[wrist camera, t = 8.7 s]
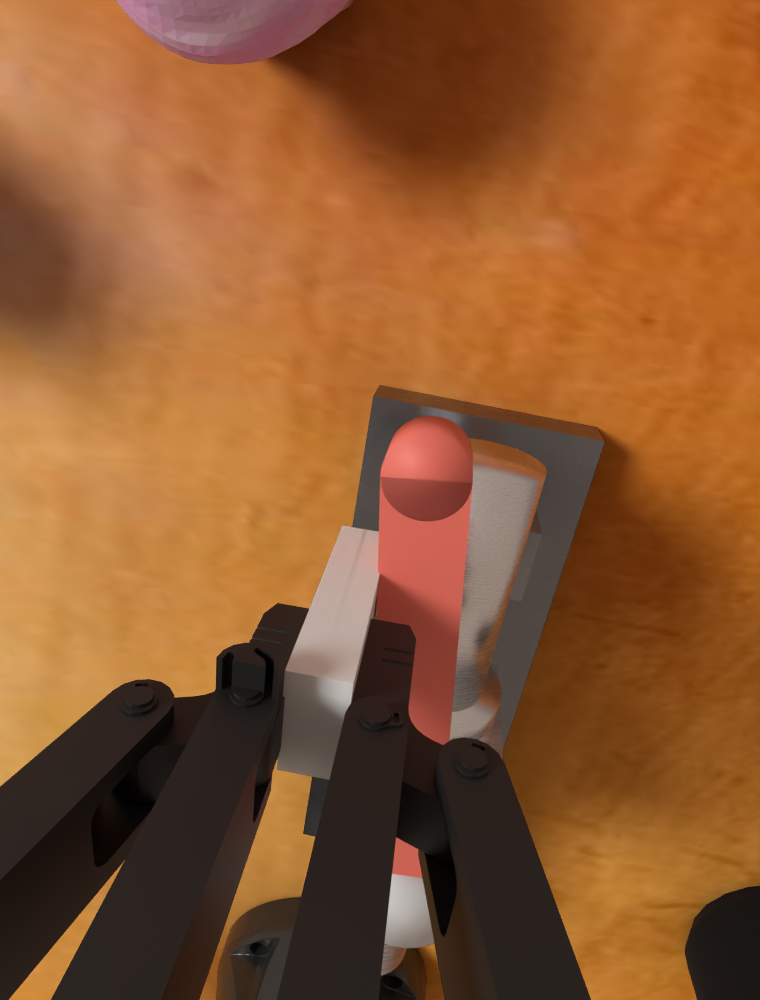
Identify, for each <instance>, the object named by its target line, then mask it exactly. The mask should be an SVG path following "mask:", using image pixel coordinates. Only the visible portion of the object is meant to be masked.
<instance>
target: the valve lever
mask: <svg viewBox="0 0 760 1000" xmlns="http://www.w3.org/2000/svg"><path fill="white" fill-rule="evenodd" d="M472 486H473V451H472V446H471V443H470V441H469V439H468V437H467V435H466V434H465V432H464V431H463V430H462V429H461V428H460V427H459V426H458V425H456V424H455V423H453V422H452V421H450V420H448V419H445V418H442V417H437V416H422V417H418V418H415V419H412V420H410V421H408V422H407V423H405V424H404V425H403V426H401V427H400V428H399V429H398V430H397V432H396V433H395V434H394V436H393V438H392V440H391V442H390V445H389V448H388V451H387V453H386V456H385V459H384V461H383V464H382V468H381V473H380V504H379V543H378V573H380V575H379V582H378V589H377V620H382V621H388V622H394V623H399V624H405V625H410V627H411V629H412V631H413V633H414V635H415V637H416V646H415V654H414V664H413V673H412V681H411V690H410V699H409V716H410V719H411V721H412V723H413V724H414V726H415V727H416V729H418V730H419V731H420V732H421V733H422V734H423V735H425V736H426V737H428V738H430V739H431V740H433V741H435V742H438V743H440V744H442V745H444V744H445V743H447V742H448V741H450V730H451V719H452V707H453V696H454V685H455V674H456V663H457V652H458V641H459V630H460V619H461V608H462V597H463V586H464V574H465V563H466V552H467V541H468V530H469V519H470V508H471V497H472ZM433 943H434V938H433V933H432V927H431V922H430V916H429V911H428V906H427V900H426V895H425V889H424V884H423V879H422V873H421V868H420V862H419V857H418V849H417V848H415V847H413V846H411V845H409V844H408V843H406V842H404V841H402V840H400V839H398V838H397V837H396V843H395V852H394V861H393V870H392V879H391V888H390V898H389V907H388V916H387V925H386V934H385V944H387V945H391V946H395V947H401V948H419V947H424V946H428V945H430V944H433Z"/></svg>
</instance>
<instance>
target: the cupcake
mask: <svg viewBox="0 0 760 1000" xmlns="http://www.w3.org/2000/svg"><path fill="white" fill-rule="evenodd" d="M116 1H117V3H118V4H119V5H120V6H121V7H122V9H123V10H124V11H125V12H126V13H127V15H128V16H129V17H130V18H131V19H132V20H133V21H134V22H135V24H136V25H137V26H138V27H139V28H140V29H141V30H142V31H143V32H144V33H145V34H147V35H148V36H149V37H150V38H152V39H153V40H154V41H155V42H157V43H158V44H160V45H162V46H163V47H165V48H167V49H168V50H170V51H172V52H174V53H176V54H178V55H180V56H182V57H184V58H186V59H190V60H193V61H197V62H202V63H210V64H242V63H251V62H257V61H261V60H265V59H268V58H271V57H273V56H275V55H277V54H279V53H281V52H283V51H285V50H287V49H289V48H291V47H293V46H295V45H297V44H299V43H300V42H302V41H303V40H305V39H306V38H308V37H309V36H311V35H312V34H314V33H315V32H316V31H317V30H318V29H319V28H320V27H322V26H323V25H325V24H326V23H327V22H328V21H330V20H331V19H332V18H334V17H335V16H336V15H337V14H338V13H340V12H341V11H343V10H345V9H347V8H348V7H349V6H350V5H351V4H352V3H353V1H354V0H116Z"/></svg>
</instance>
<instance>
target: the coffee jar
mask: <svg viewBox="0 0 760 1000" xmlns="http://www.w3.org/2000/svg"><path fill="white" fill-rule="evenodd" d="M685 956H686V960H687V965H688V969H689V973H690V976H691V980H692V983H693V987H694V990H695V994H696V997H697V1000H760V886H757V887H748V888H744V889H741V890H737V891H734V892H730V893H727V894H724V895H723V896H721V897H719V898H717V899H716V900H714V901H712V902H711V903H709V904H707V905H706V906H705V907H704V908H703V909H702V910H701V912H700V913H699V914H698V915H697V916H696V917H695V918H694V921H693V925H692V928H691V930H690V933H689V936H688V940H687V943H686V947H685Z"/></svg>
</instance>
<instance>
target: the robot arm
mask: <svg viewBox="0 0 760 1000" xmlns="http://www.w3.org/2000/svg"><path fill="white" fill-rule="evenodd" d="M378 543H379V532H377V531H371V530H366V529H360V528H354V527H348V526H342V528H341V531H340V533H339V536H338V538H337V541H336V543H335V546H334V548H333V551H332V553H331V556H330V558H329V561H328V563H327V566H326V568H325V571H324V573H323V576H322V578H321V581H320V583H319V586H318V589H317V591H316V594H315V596H314V599H313V601H312V604H311V606H310V609H308V608H302V607H296V606H291V605H285V604H280V603H277V604H276V605H275V606H273V607H272V608H271V609H269V610H268V611H267V612H265V613H264V615H263V617H262V619H261V621H260V623H259V625H258V627H257V629H256V630H255V632H254V634H253V636H252V639H251V640H250V642H249V643H242V644H237V645H233V646H231V647H229V648H227V649H225V650H223V651H222V652H221V653H220V654H219V655H218V656H217V663H216V690H215V691H214V692H212V693H209V694H206V695H201V696H194V697H178V698H174V694H173V692H172V691H171V689H170V687H168V686H167V685H165V684H164V683H162V682H159V681H155V680H150V679H147V680H135V681H132V682H128V683H125V684H123V685H121V686H120V687H118V688H116V689H115V690H113V691H112V692H111V693H110V694H108V695H107V696H106V697H105V698H104V699H103V700H101V701H100V702H99V703H98V704H97V705H95V706H94V707H93V708H92V709H91V710H90V711H88V712H87V713H86V714H85V715H84V716H83V717H81V718H80V719H79V720H78V721H77V722H76V723H74V724H73V725H72V726H71V727H70V728H69V729H67V730H66V731H65V732H64V733H63V734H62V735H60V736H59V737H58V738H57V739H56V740H54V741H53V742H52V743H51V744H50V745H49V746H47V747H46V748H45V749H44V750H43V751H42V752H40V753H39V754H38V755H37V756H36V757H35V758H33V759H32V760H31V761H30V762H29V763H28V764H26V765H25V766H24V767H23V768H22V769H21V770H19V771H18V772H17V773H16V774H15V775H13V776H12V777H11V778H10V779H9V780H8V781H6V782H5V783H4V784H3V785H2V786H1V787H0V1000H9V998H10V997H11V996H12V995H13V994H14V992H15V991H16V990H17V989H18V988H19V986H20V985H21V984H22V983H23V982H24V980H25V979H26V978H27V977H28V976H29V974H30V973H31V972H32V971H33V970H34V968H35V967H36V966H37V965H38V964H39V962H40V961H41V960H42V959H43V958H44V956H45V955H46V954H47V953H48V952H49V950H50V949H51V948H52V947H53V946H54V944H55V943H56V942H57V941H58V940H59V938H60V937H61V936H62V935H63V934H64V932H65V931H66V930H67V929H68V928H69V926H70V925H71V924H72V923H73V922H74V920H75V919H76V918H77V917H78V916H79V914H80V913H81V912H82V911H83V910H84V908H85V907H86V906H87V905H88V904H89V902H90V901H91V900H92V899H93V898H94V896H95V895H96V894H97V893H98V892H99V890H100V889H101V888H102V887H103V885H104V884H105V883H106V882H107V881H108V879H109V878H110V877H111V876H112V875H113V873H114V872H115V871H116V870H117V869H118V867H119V866H120V865H121V864H122V863H123V861H124V860H125V861H124V863H123V865H122V867H121V869H120V871H119V873H118V874H117V876H116V878H115V880H114V882H113V884H112V886H111V888H110V889H109V891H108V893H107V895H106V897H105V899H104V901H103V903H102V905H101V906H100V908H99V910H98V912H97V914H96V916H95V918H94V920H93V922H92V923H91V925H90V927H89V929H88V931H87V933H86V935H85V937H84V938H83V940H82V942H81V944H80V946H79V948H78V950H77V952H76V954H75V955H74V957H73V959H72V961H71V963H70V965H69V967H68V969H67V971H66V972H65V974H64V976H63V978H62V980H61V982H60V984H59V986H58V988H57V989H56V991H55V993H54V995H53V997H52V999H51V1000H199V999H200V996H201V993H202V990H203V987H204V984H205V982H206V979H207V976H208V973H209V970H210V967H211V964H212V961H213V958H214V955H215V952H216V949H217V946H218V943H219V941H220V938H221V935H222V932H223V929H224V926H225V923H226V920H227V917H228V914H229V911H230V908H231V905H232V902H233V900H234V897H235V894H236V891H237V888H238V885H239V882H240V879H241V876H242V873H243V870H244V867H245V864H246V861H247V859H248V856H249V853H250V850H251V847H252V844H253V841H254V838H255V835H256V832H257V829H258V826H259V823H260V820H261V817H262V815H263V812H264V809H265V806H266V803H267V800H268V797H269V794H270V791H271V782H272V772H273V769H274V766H275V763H276V760H277V758H278V763H277V770H282V771H287V772H293V773H298V774H303V775H307V776H312V777H318V778H323V779H328V780H329V783H328V787H327V791H326V796H325V800H324V804H323V808H322V812H321V816H320V821H319V825H318V829H317V833H316V837H315V842H314V846H313V850H312V854H311V858H310V862H309V867H308V871H307V875H306V879H305V883H304V887H303V892H302V896H301V898H291V899H282V900H276V901H272V902H268V903H265V904H262V905H259V906H257V907H255V908H253V909H251V910H249V911H248V912H246V913H245V914H243V915H242V916H241V917H240V918H239V919H238V920H237V921H236V922H235V923H234V925H233V926H232V928H231V930H230V932H229V935H228V938H227V941H226V944H225V947H224V950H223V953H222V956H221V959H220V962H219V967H218V973H217V989H216V1000H425V997H426V970H425V967H424V964H423V961H422V959H421V957H420V955H419V954H418V952H417V950H416V949H415V948H407V949H406V952H405V955H404V958H403V960H402V961H401V963H400V964H399V965H398V966H397V967H396V968H395V969H394V970H393V971H391V972H390V973H388V974H386V975H382V976H381V970H382V961H383V952H384V943H385V934H386V925H387V916H388V907H389V898H390V888H391V879H392V870H393V861H394V852H395V843H396V837H397V838H398V839H400V840H402V841H404V842H406V843H408V844H409V845H411V846H413V847H415V848H417V849H418V857H419V862H420V868H421V873H422V879H423V884H424V889H425V895H426V900H427V906H428V911H429V916H430V922H431V927H432V933H433V938H434V943H435V949H436V954H437V960H438V965H439V970H440V976H441V981H442V987H443V992H444V997H445V1000H591V998H590V996H589V993H588V990H587V987H586V985H585V982H584V979H583V977H582V974H581V971H580V968H579V966H578V963H577V960H576V957H575V955H574V952H573V949H572V946H571V944H570V941H569V938H568V936H567V933H566V930H565V927H564V925H563V922H562V919H561V916H560V914H559V911H558V908H557V905H556V903H555V900H554V897H553V895H552V892H551V889H550V886H549V884H548V881H547V878H546V875H545V873H544V870H543V867H542V864H541V862H540V859H539V856H538V854H537V851H536V848H535V845H534V843H533V840H532V837H531V834H530V832H529V829H528V826H527V823H526V821H525V818H524V815H523V812H522V810H521V807H520V804H519V802H518V799H517V796H516V793H515V791H514V788H513V785H512V782H511V780H510V777H509V774H508V771H507V769H506V766H505V763H504V762H503V760H502V758H501V757H500V755H499V753H498V752H497V751H495V750H494V749H493V748H492V747H491V746H490V745H488V744H486V743H484V742H482V741H480V740H477V739H473V738H466V737H462V738H456V739H452V740H450V741H448V742H447V743H445V744H444V745H442V744H440V743H438V742H435V741H433V740H431V739H430V738H428V737H426V736H425V735H423V734H422V733H421V732H420V731H419V730H418V729H416V727H415V726H414V724H413V723H412V721H411V719H410V716H409V699H410V690H411V681H412V673H413V664H414V654H415V646H416V637H415V635H414V633H413V631H412V629H411V627H410V625H405V624H399V623H394V622H388V621H382V620H377V619H376V616H377V589H378V582H379V575H380V573H378Z"/></svg>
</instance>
